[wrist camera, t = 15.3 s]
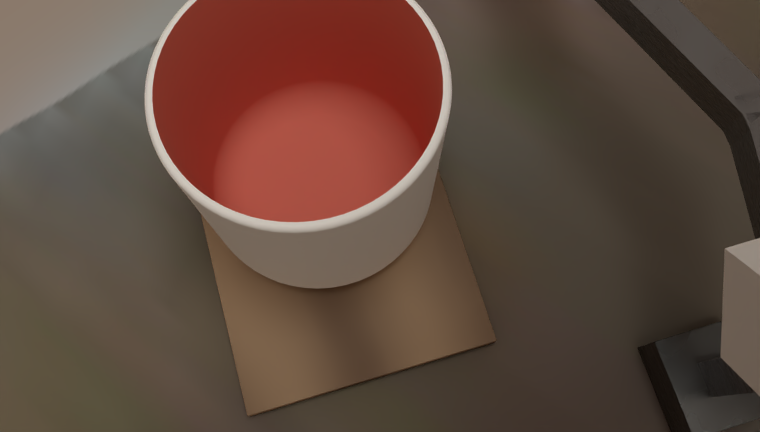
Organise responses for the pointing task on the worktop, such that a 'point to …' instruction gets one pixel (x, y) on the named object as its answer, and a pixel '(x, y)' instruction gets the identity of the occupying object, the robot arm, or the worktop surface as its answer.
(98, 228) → the worktop surface
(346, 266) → the cup
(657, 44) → the jointed metal bar
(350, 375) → the walnut board
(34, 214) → the worktop surface
